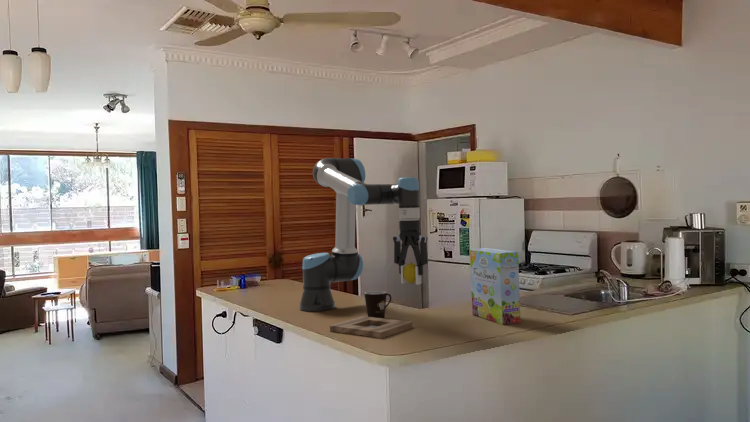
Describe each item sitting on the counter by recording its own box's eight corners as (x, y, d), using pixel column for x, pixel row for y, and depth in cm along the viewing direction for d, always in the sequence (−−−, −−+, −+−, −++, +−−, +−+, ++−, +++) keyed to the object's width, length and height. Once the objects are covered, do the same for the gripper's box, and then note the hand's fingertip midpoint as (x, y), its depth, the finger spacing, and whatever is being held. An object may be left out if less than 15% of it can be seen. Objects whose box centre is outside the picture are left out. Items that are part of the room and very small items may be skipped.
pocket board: (329, 331, 197) (329, 325, 197) (363, 321, 212) (363, 316, 212) (380, 338, 184) (380, 332, 184) (412, 327, 199) (412, 321, 199)
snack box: (469, 315, 218) (467, 248, 218) (489, 313, 221) (487, 247, 221) (501, 325, 198) (499, 252, 198) (522, 323, 201) (520, 250, 201)
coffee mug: (368, 321, 212) (367, 294, 212) (362, 317, 220) (361, 291, 220) (397, 319, 215) (397, 292, 215) (391, 315, 223) (390, 289, 223)
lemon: (418, 282, 209) (417, 261, 209) (420, 285, 203) (419, 262, 203) (403, 283, 208) (402, 261, 208) (404, 285, 203) (403, 263, 203)
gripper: (382, 220, 208) (384, 283, 208) (426, 220, 197) (428, 286, 197) (394, 219, 214) (395, 280, 214) (436, 219, 203) (438, 283, 203)
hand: (411, 283), depth 206 cm, fingers closed on lemon, 5 cm apart
